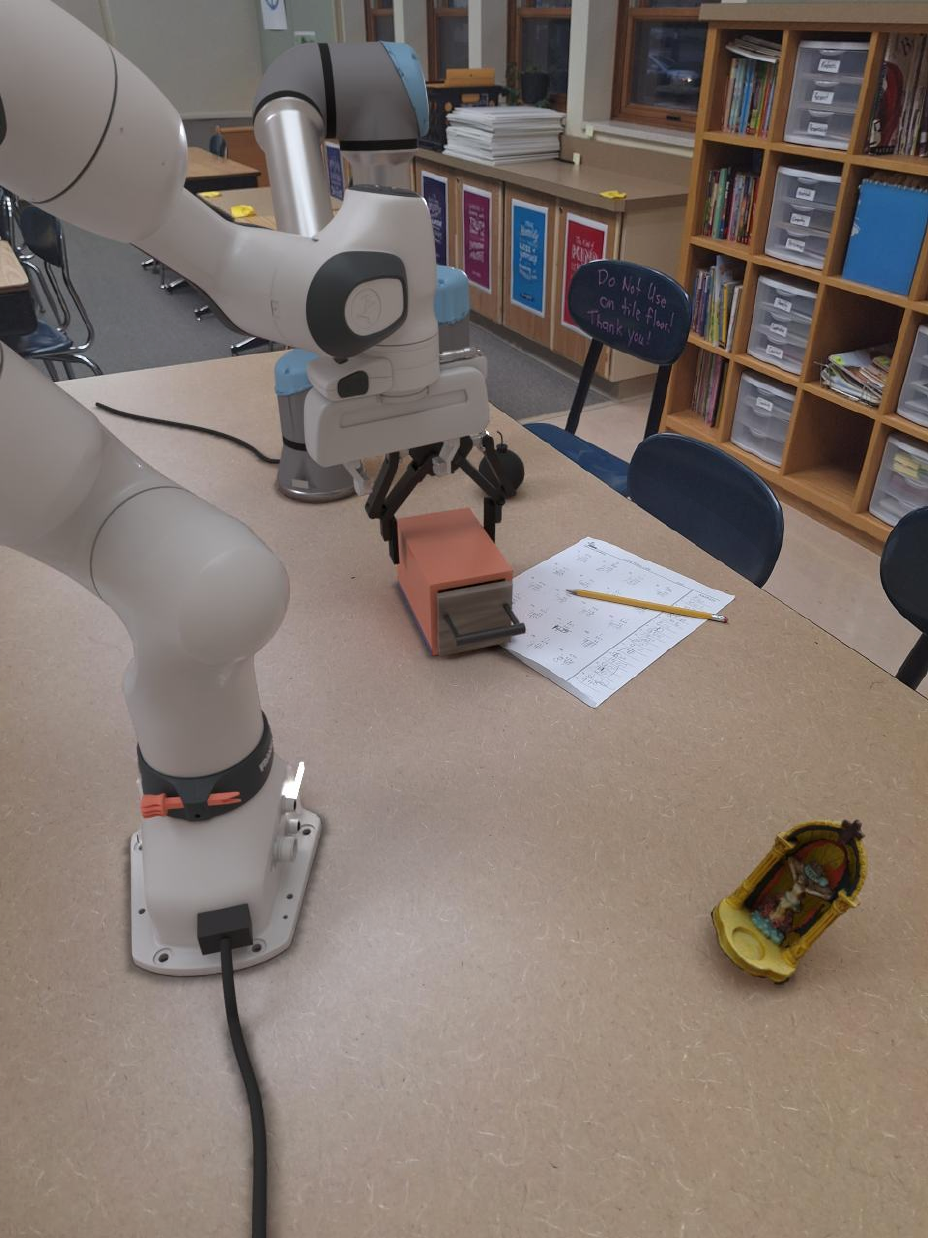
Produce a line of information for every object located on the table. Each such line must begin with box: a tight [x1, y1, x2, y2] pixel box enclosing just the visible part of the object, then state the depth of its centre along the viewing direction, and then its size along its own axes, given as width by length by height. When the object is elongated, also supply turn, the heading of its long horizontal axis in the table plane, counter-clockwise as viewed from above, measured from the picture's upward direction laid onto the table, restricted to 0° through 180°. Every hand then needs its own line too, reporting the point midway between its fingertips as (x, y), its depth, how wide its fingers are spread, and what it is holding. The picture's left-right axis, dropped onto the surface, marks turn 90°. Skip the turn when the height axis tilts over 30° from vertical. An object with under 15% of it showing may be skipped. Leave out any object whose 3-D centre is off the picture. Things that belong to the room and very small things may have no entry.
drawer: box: [436, 580, 527, 657], centre depth 112 cm, size 22×10×9 cm, turn 18°
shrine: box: [710, 818, 868, 986], centre depth 72 cm, size 12×8×15 cm
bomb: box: [477, 430, 526, 492], centre depth 145 cm, size 8×8×12 cm
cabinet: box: [396, 507, 514, 657], centre depth 116 cm, size 18×11×11 cm, turn 18°
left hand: (403, 483), depth 95 cm, fingers open, 8 cm apart
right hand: (442, 551), depth 118 cm, fingers open, 13 cm apart
